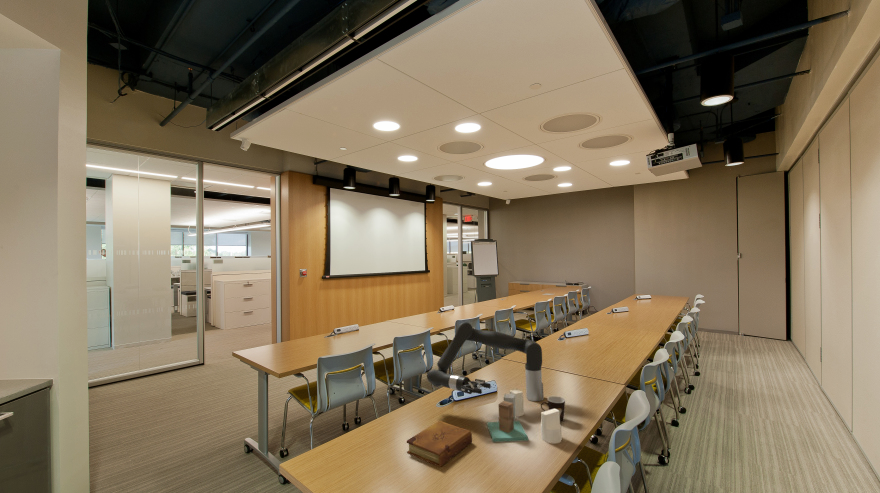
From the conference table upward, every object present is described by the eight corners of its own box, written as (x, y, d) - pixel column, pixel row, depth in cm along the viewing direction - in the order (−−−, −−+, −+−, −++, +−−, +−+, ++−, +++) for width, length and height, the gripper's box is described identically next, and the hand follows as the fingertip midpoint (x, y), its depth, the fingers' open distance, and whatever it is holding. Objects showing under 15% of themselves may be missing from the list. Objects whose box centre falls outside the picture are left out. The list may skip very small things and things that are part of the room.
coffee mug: (566, 417, 180) (565, 397, 180) (565, 424, 172) (564, 403, 172) (543, 413, 185) (542, 394, 185) (540, 420, 177) (540, 400, 177)
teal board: (519, 424, 174) (519, 420, 174) (528, 440, 158) (527, 437, 158) (487, 425, 173) (487, 422, 173) (493, 441, 157) (492, 438, 158)
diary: (440, 469, 139) (440, 454, 139) (406, 454, 151) (406, 440, 151) (472, 443, 157) (471, 430, 157) (439, 432, 169) (439, 420, 169)
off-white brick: (517, 411, 188) (516, 388, 189) (523, 414, 184) (522, 391, 185) (510, 413, 186) (509, 390, 187) (516, 417, 182) (515, 393, 182)
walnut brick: (504, 425, 169) (503, 400, 170) (513, 428, 166) (512, 403, 167) (499, 429, 165) (498, 404, 166) (508, 432, 162) (507, 406, 163)
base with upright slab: (551, 445, 153) (550, 417, 154) (536, 436, 161) (535, 410, 162) (566, 440, 157) (564, 413, 158) (551, 431, 165) (550, 406, 166)
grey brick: (505, 417, 182) (504, 393, 183) (515, 418, 180) (514, 394, 181) (504, 421, 177) (503, 397, 178) (514, 422, 176) (513, 398, 176)
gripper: (451, 380, 178) (477, 385, 168) (466, 372, 189) (492, 377, 179) (451, 394, 178) (478, 401, 168) (467, 386, 189) (493, 391, 179)
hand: (486, 388), depth 173 cm, fingers open, 8 cm apart
